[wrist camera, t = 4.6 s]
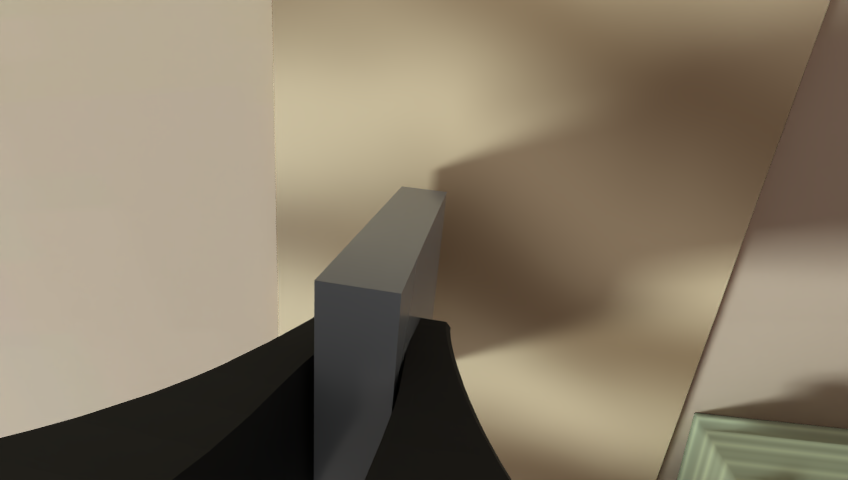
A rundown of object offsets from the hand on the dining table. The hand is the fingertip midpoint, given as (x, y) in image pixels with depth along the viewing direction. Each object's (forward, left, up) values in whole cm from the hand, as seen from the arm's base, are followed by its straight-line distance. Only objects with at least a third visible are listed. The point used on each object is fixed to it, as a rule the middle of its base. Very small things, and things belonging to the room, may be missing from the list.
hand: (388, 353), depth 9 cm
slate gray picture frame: (0, 0, -3) cm, 3 cm away
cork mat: (0, -2, -4) cm, 5 cm away
